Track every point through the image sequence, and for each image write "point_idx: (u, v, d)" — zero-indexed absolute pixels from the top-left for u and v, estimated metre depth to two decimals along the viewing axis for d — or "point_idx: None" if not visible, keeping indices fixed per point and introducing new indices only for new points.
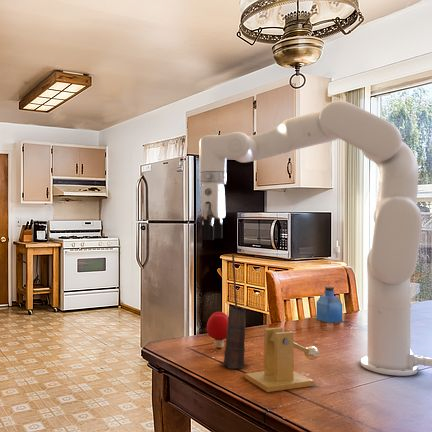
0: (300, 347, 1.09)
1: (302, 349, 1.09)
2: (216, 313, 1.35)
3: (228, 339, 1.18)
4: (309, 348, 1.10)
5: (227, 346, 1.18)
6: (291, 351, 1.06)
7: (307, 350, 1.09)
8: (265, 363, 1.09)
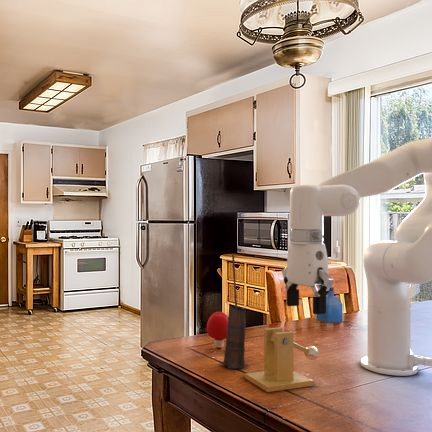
0: (300, 347, 1.09)
1: (302, 349, 1.09)
2: (216, 313, 1.35)
3: (228, 339, 1.18)
4: (309, 348, 1.10)
5: (227, 346, 1.18)
6: (291, 351, 1.06)
7: (307, 350, 1.09)
8: (265, 363, 1.09)
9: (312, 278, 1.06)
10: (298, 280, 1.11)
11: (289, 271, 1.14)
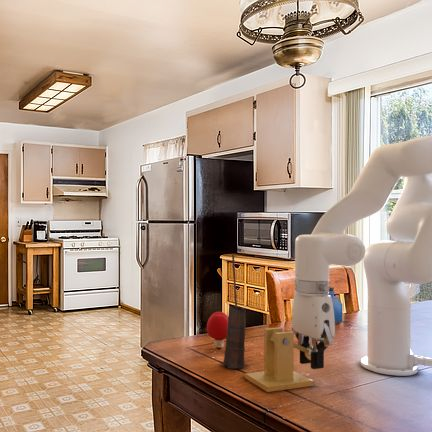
0: (300, 347, 1.09)
1: (302, 349, 1.09)
2: (216, 313, 1.35)
3: (228, 339, 1.18)
4: (309, 348, 1.10)
5: (227, 346, 1.18)
6: (291, 351, 1.06)
7: (307, 350, 1.09)
8: (265, 363, 1.09)
9: (318, 331, 1.05)
10: (304, 331, 1.10)
11: (295, 321, 1.13)
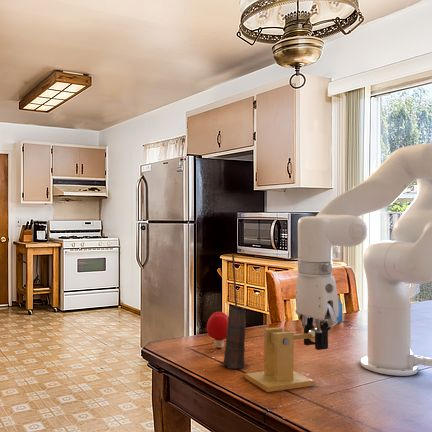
0: (302, 336, 1.09)
1: (304, 337, 1.09)
2: (216, 313, 1.35)
3: (228, 339, 1.18)
4: (311, 332, 1.10)
5: (227, 346, 1.18)
6: (291, 351, 1.06)
7: (310, 335, 1.10)
8: (265, 363, 1.09)
9: (322, 311, 1.06)
10: (308, 312, 1.10)
11: (299, 303, 1.13)
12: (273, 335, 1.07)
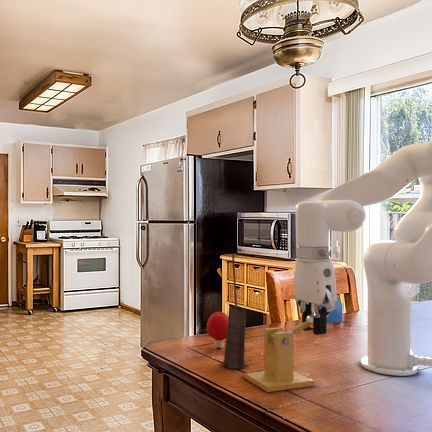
0: (301, 327, 1.09)
1: (303, 327, 1.09)
2: (216, 313, 1.35)
3: (228, 339, 1.18)
4: (308, 320, 1.10)
5: (227, 346, 1.18)
6: (291, 351, 1.06)
7: (308, 324, 1.09)
8: (265, 363, 1.09)
9: (320, 296, 1.05)
10: (306, 297, 1.10)
11: (297, 288, 1.13)
12: (272, 337, 1.07)
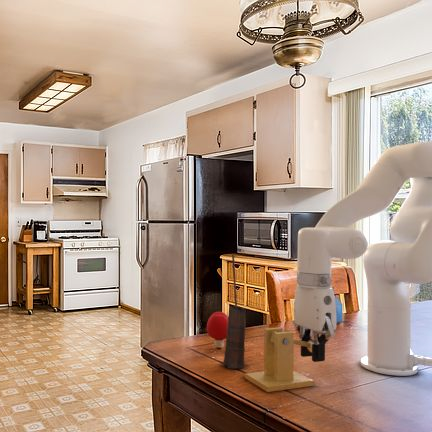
0: (301, 343, 1.09)
1: (304, 344, 1.09)
2: (216, 313, 1.35)
3: (228, 339, 1.18)
4: (310, 342, 1.10)
5: (227, 346, 1.18)
6: (291, 351, 1.06)
7: (309, 344, 1.10)
8: (265, 363, 1.09)
9: (320, 323, 1.05)
10: (305, 324, 1.10)
11: (296, 314, 1.13)
12: (274, 333, 1.07)
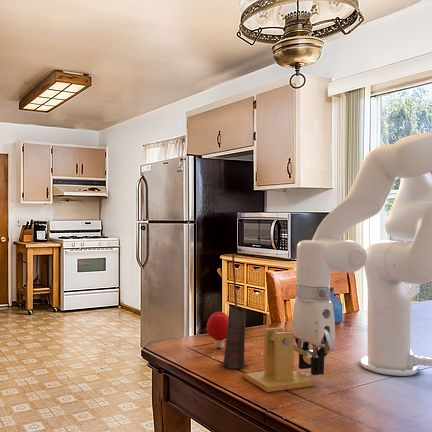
0: (299, 349, 1.09)
1: (301, 352, 1.09)
2: (216, 313, 1.35)
3: (228, 339, 1.18)
4: (308, 352, 1.10)
5: (227, 346, 1.18)
6: (291, 351, 1.06)
7: (306, 353, 1.09)
8: (265, 363, 1.09)
9: (319, 337, 1.05)
10: (304, 337, 1.10)
11: (295, 326, 1.13)
12: (275, 332, 1.07)
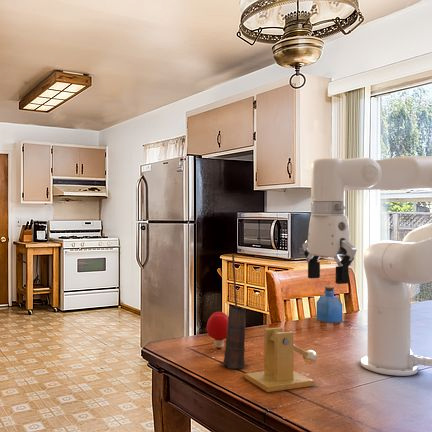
0: (299, 349, 1.09)
1: (301, 352, 1.09)
2: (216, 313, 1.35)
3: (228, 339, 1.18)
4: (308, 352, 1.10)
5: (227, 346, 1.18)
6: (291, 351, 1.06)
7: (306, 353, 1.09)
8: (265, 363, 1.09)
9: (335, 248, 1.09)
10: (320, 252, 1.13)
11: (311, 244, 1.16)
12: (275, 332, 1.07)
